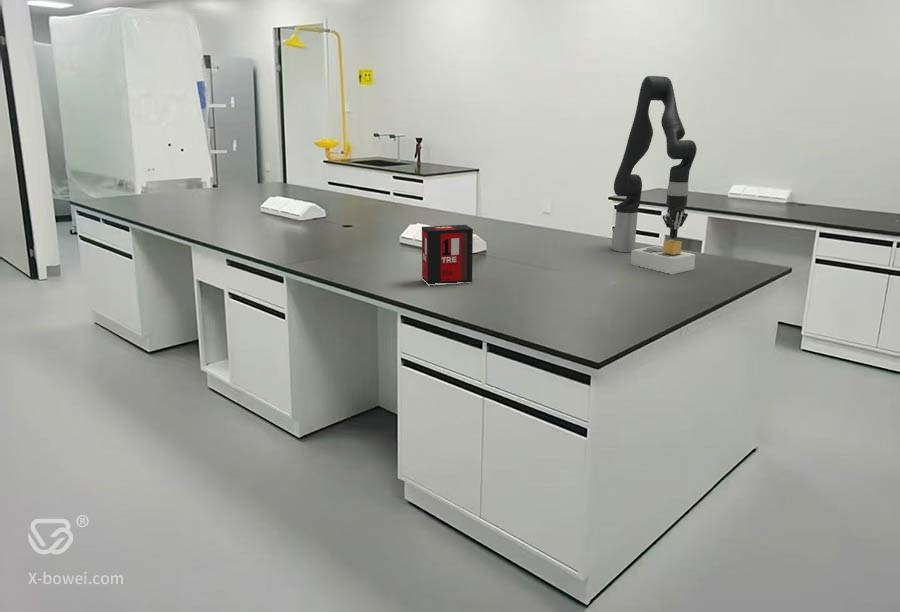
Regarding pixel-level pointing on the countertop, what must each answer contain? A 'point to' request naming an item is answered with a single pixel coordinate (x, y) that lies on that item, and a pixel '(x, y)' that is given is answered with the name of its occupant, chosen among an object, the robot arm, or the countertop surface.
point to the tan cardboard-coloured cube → (672, 247)
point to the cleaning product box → (447, 254)
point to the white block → (654, 249)
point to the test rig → (663, 261)
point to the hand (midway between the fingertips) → (673, 238)
